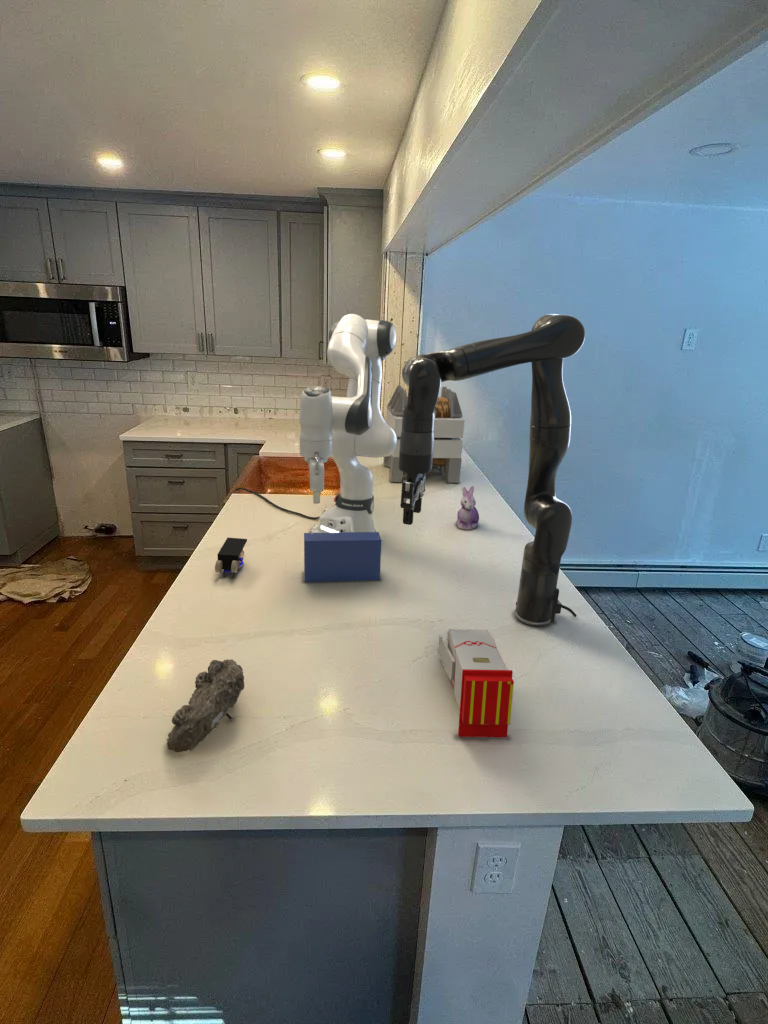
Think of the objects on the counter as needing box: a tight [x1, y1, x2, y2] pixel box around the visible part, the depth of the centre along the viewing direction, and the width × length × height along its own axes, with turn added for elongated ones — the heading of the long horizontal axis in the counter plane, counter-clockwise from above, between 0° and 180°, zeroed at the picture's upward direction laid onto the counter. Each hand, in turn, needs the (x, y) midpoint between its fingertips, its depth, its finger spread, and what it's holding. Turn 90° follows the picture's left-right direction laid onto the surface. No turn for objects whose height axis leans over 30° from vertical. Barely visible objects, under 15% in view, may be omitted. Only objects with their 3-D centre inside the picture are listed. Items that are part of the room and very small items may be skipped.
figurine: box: [456, 485, 480, 530], centre depth 208 cm, size 9×10×15 cm
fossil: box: [166, 658, 245, 754], centre depth 106 cm, size 22×10×15 cm
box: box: [303, 531, 382, 583], centre depth 164 cm, size 22×6×13 cm, turn 98°
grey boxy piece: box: [383, 384, 465, 484], centre depth 268 cm, size 34×33×41 cm
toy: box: [437, 628, 515, 738], centre depth 117 cm, size 12×13×30 cm
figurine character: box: [214, 537, 248, 578], centre depth 166 cm, size 7×8×15 cm
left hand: (316, 497), depth 157 cm, fingers open, 8 cm apart
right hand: (412, 517), depth 132 cm, fingers open, 8 cm apart
